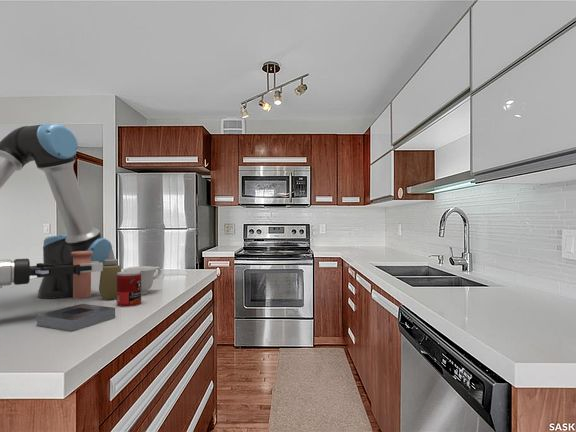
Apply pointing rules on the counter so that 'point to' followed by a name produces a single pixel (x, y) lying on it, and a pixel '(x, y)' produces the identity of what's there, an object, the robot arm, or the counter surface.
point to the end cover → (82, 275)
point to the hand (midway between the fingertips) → (100, 265)
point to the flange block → (75, 317)
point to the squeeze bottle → (109, 277)
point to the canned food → (128, 288)
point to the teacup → (145, 276)
